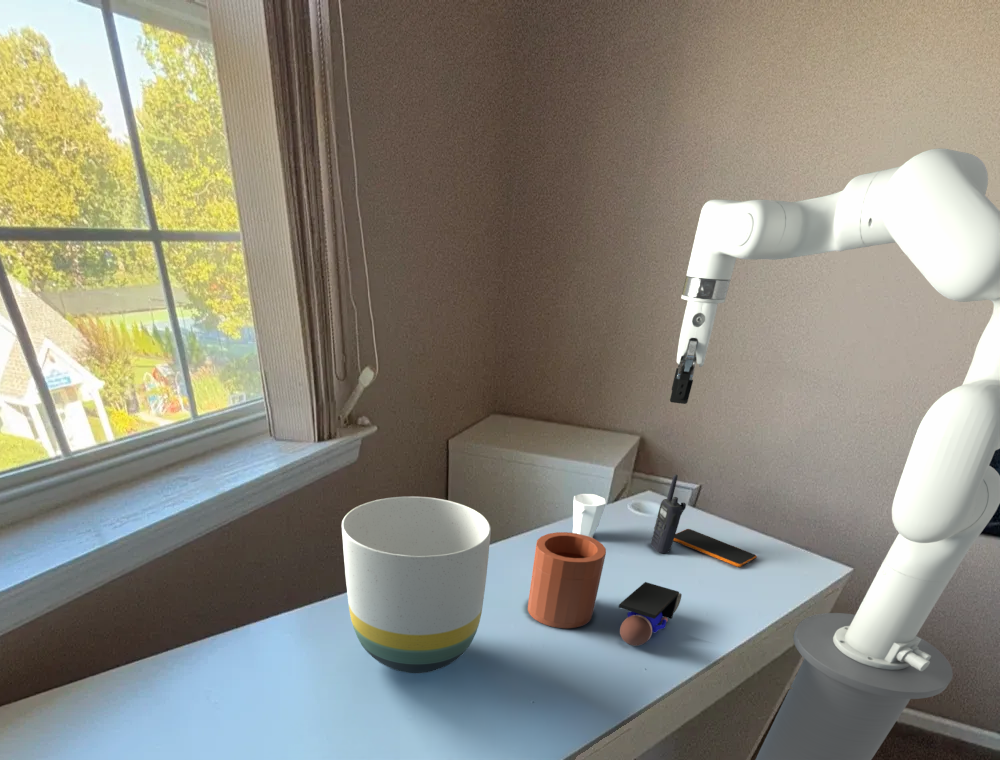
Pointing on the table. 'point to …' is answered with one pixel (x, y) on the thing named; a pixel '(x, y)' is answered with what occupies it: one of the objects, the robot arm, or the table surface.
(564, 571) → the jar
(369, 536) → the planter
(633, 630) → the figurine character
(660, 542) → the two-way radio
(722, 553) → the smartphone
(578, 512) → the cup
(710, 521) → the table surface
